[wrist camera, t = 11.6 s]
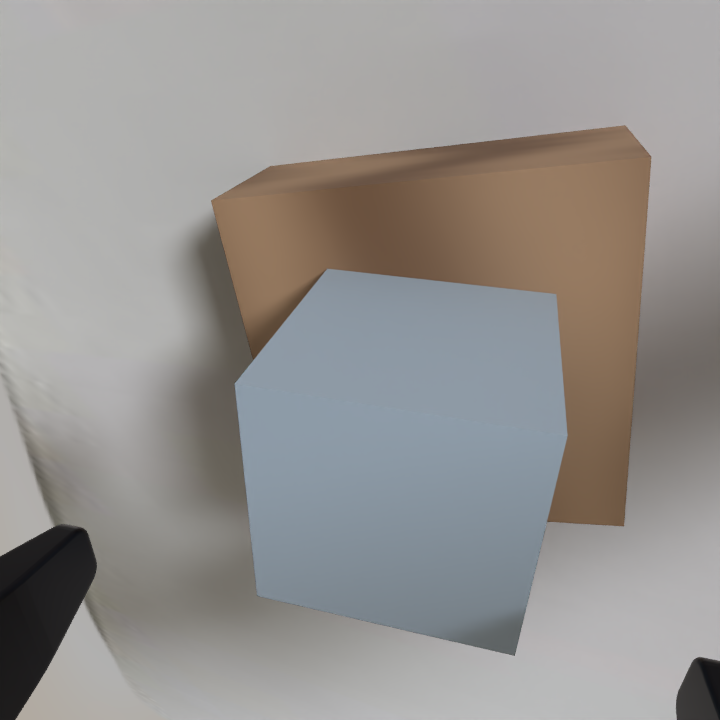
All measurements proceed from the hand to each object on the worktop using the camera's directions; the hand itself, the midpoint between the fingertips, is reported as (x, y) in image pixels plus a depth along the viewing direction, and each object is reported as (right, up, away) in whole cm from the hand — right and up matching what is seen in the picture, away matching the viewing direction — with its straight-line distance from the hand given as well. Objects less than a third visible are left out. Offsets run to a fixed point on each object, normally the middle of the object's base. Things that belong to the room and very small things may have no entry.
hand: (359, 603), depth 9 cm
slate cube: (+2, +3, +6) cm, 7 cm away
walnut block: (+3, +5, +9) cm, 11 cm away
